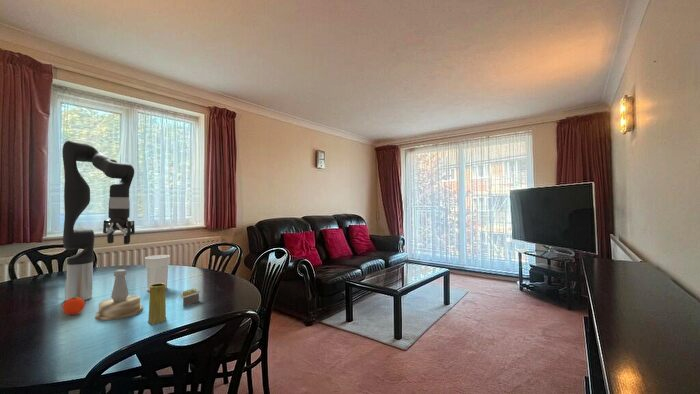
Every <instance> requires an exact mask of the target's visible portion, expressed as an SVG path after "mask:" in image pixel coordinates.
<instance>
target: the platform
mask: <svg viewBox="0 0 700 394" xmlns="http://www.w3.org/2000/svg"><path fill="white" fill-rule="evenodd" d="M202 292H203V291H202V290H197V288H191V289H187V290H183V291H182V293H181V294H179V297H180V299H182V300H183V301H182V303H183V304H182V307H185V306H188V304H189V305H191V304H194V303H198V302H199V301H200V298H199V296H200V294H201V293H202Z"/></svg>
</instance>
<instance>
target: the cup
mask: <svg viewBox="0 0 700 394" xmlns="http://www.w3.org/2000/svg"><path fill="white" fill-rule="evenodd" d="M170 259H171V255H169V254H155V255H149V256H145V257H144V267H145V268H146V291H147V292H148V293H150V285H152V284H157V283H165V284H166V286H165V290H167V289H168V277H169V276H168V275H169V266H170V264H171V263H170V261H171V260H170Z"/></svg>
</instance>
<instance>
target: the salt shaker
mask: <svg viewBox="0 0 700 394" xmlns="http://www.w3.org/2000/svg"><path fill="white" fill-rule="evenodd" d="M127 273H128V272H127V270H126V269H116V270H115V271H114V272H113V277H114V278H115V279H114V281H113V282H114V283H113V288H112V291H111V296H110V298H112V300H113V301H114V302H123V301H125V300H126V299H127V297H128V296H129V289H128V285H127V284H128V283H127V280H126V276H127Z"/></svg>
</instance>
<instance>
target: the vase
mask: <svg viewBox="0 0 700 394" xmlns="http://www.w3.org/2000/svg"><path fill="white" fill-rule="evenodd" d="M165 286H166V284H165V283H157V284H152V285H150V292H149V303H148V305H149V306H148V319H147V323H148V324H150V325H151V324H152V325H155V324H156V325H157V324H161V323H164V322H165V321H166V320H167V316H166V315H167V311H166V309H167V306H166V305H167V303H166V301H167V300H166V289H165Z"/></svg>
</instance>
